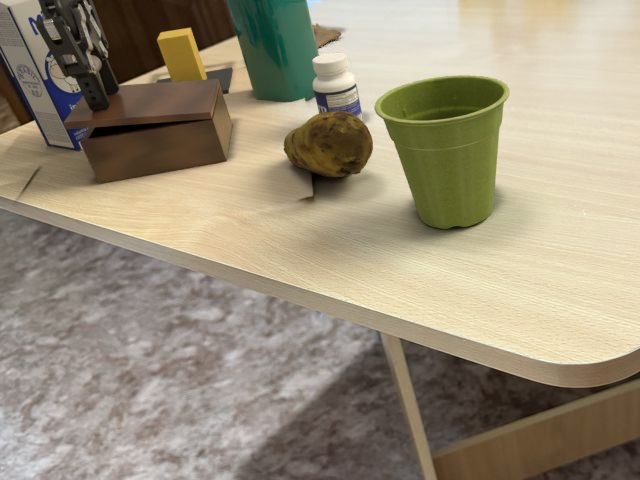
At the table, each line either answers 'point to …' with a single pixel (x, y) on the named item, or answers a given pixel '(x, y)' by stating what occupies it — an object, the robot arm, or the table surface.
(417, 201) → the plant pot
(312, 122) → the potato
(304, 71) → the pitcher
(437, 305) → the table surface
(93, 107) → the robot arm
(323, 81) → the pill bottle
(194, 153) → the brown wooden box
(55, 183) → the table surface
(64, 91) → the milk carton
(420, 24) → the table surface
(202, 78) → the block
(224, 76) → the mat
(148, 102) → the lid
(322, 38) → the jawbone
